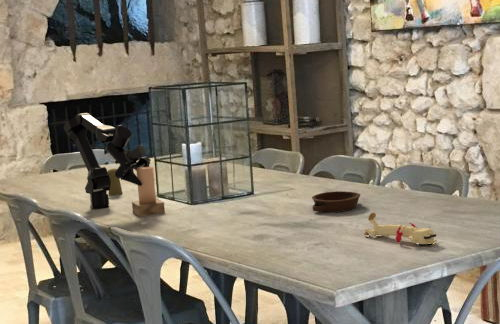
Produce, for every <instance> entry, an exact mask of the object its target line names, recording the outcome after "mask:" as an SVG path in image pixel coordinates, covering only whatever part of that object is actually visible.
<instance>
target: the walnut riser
mask: <svg viewBox="0 0 500 324" xmlns="http://www.w3.org/2000/svg"><path fill="white" fill-rule="evenodd" d="M131 205H132V206H131V207H132V213H133V214H135V215H136V216H137V217H145V216H151V215H157V214H158V215H159V214H165V212H166V210H165V202H164V201H163V200H161V199H159V198H156V202H154V203H149V204H141V203H139V200H135V201H131Z"/></svg>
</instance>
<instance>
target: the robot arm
mask: <svg viewBox="0 0 500 324" xmlns="http://www.w3.org/2000/svg"><path fill="white" fill-rule="evenodd" d="M63 129H64V132H65V134H66V135H67V137H68V138H69V139H71V141H74V142H75V145H76V147H77V150H78V152H79V153H80V156H81V158H82V160H83V163H84V165H85V167H86V170H87V172H88V173H87V178H86V180H87V182H86V185H85V187H84V191H85V193H86V194H89V200H90V205H89V206H90V208H91V209H93V210H96V209H102V208H109V207H110V200H109V199H110V198H109V193H108V194H107V192H109V191H110V185H111V179H110V177H109V174H108V169H107V168H106V166H103V167H101V166H100V164H99V162H98V160H97V157H96V155H95V152H94V150H93V149H92V148H93V147H92V146H91V144H90V141H89V140H88V137H87V132H88V130H89V131H90V132H91V133H93V134H94V135H95V139H96V140H97V141H98V142H99V143H100V144H102V145H103V144H107V145H106V146H104V147H103V149H104V151H103V154H104V155H108V154H109V155H110V156H111V157H112V159H114V161H115V162H114V163H115V165H118V164H119V166H118V167H117V168H116V169H117V170H116V171H115V176H116V178H117V179H119V180H120V181H125V182H128V183H131V184H134V185H136V186H138V185H139V186H142V183H141V181H140V180H139V179H138V177H137V174H135V173H134V171H136V169H137V168H141V167H150V165H151V159H150V157H148V156H144V155H146V154H147V147H145V146H144V145H143V144H139V145H138V146H136V148H134V149H132V150H130V149H128V150H127V149H126V148H125V147H126V146H127V144H128V142H130V138H131V137H132V131H131V130H130V129H128V128H127V127H125V126H123V124H120V125H116V127H115V126H112V125H106V124H104V123H101V122H100V121H99V120H98V119H96V118H95V117H93V116H92V115H91V114H90V113H88V112H83V113H78V114H76V115H75V116H73V117H72V118H70V119H68V120H66V121H65V123H64V125H63ZM154 181H155V178H154Z"/></svg>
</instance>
